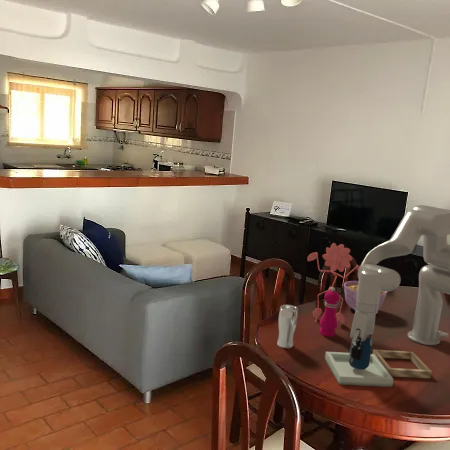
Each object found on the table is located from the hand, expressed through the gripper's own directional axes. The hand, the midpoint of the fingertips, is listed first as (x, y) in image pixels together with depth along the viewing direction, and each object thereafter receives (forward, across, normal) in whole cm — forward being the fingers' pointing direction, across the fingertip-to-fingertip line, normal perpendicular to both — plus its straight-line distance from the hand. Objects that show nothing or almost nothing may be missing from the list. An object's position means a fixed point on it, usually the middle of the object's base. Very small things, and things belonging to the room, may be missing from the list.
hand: (359, 354), depth 166 cm
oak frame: (+7, -16, +10) cm, 20 cm away
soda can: (+4, 0, 0) cm, 4 cm away
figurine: (+7, -38, -28) cm, 47 cm away
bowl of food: (+7, -62, -22) cm, 66 cm away
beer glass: (+7, 0, -29) cm, 30 cm away
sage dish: (+7, 0, 0) cm, 7 cm away
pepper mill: (+7, -23, -22) cm, 33 cm away
